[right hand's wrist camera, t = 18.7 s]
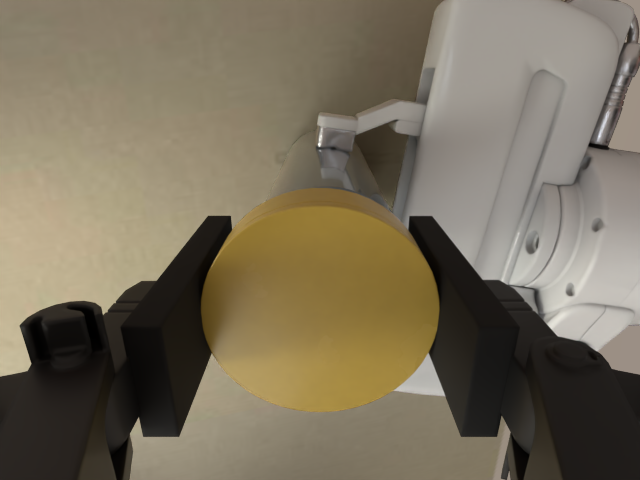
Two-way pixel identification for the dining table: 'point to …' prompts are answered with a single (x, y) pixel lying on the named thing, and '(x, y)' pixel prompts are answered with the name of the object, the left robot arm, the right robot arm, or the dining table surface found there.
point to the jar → (326, 170)
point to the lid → (320, 301)
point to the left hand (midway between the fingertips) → (307, 196)
